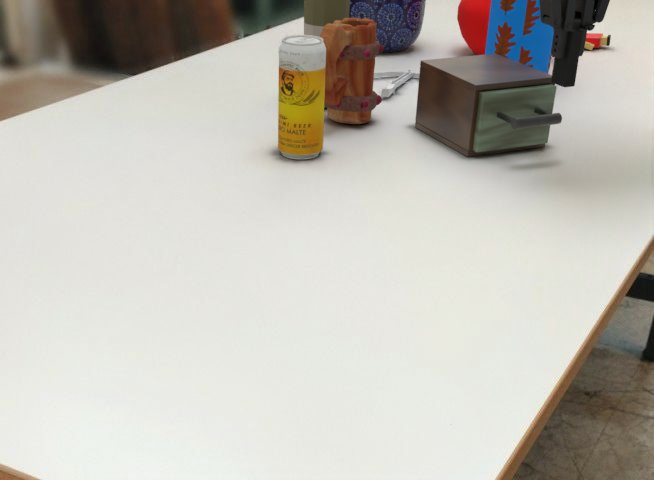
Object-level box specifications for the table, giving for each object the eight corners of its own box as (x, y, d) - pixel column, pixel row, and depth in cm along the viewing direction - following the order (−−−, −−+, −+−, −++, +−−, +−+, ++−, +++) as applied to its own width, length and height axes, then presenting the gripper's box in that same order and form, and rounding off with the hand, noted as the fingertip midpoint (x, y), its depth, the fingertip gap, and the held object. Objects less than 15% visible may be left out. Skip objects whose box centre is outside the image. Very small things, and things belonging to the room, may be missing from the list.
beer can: (269, 155, 126) (269, 40, 118) (293, 143, 131) (295, 32, 123) (307, 163, 123) (310, 46, 116) (330, 152, 128) (335, 38, 120)
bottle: (298, 109, 145) (303, -107, 129) (303, 97, 151) (308, -111, 135) (343, 111, 144) (353, -106, 129) (347, 99, 150) (357, -110, 135)
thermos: (508, 74, 165) (529, -82, 152) (559, 87, 158) (585, -76, 145) (468, 84, 159) (486, -78, 146) (518, 98, 152) (542, -72, 139)
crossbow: (374, 77, 166) (375, 65, 165) (444, 84, 162) (445, 72, 161) (347, 93, 152) (348, 80, 151) (423, 102, 148) (424, 88, 148)
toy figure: (544, 36, 184) (608, 37, 179) (550, 29, 189) (612, 31, 185) (543, 49, 185) (607, 51, 181) (549, 42, 190) (610, 44, 186)
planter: (433, 43, 186) (441, -38, 178) (403, 60, 173) (410, -26, 165) (357, 34, 192) (361, -44, 184) (322, 50, 180) (325, -33, 172)
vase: (500, 40, 189) (514, -64, 179) (572, 58, 176) (590, -52, 166) (433, 51, 180) (443, -57, 170) (503, 71, 167) (518, -45, 157)
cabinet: (545, 146, 131) (556, 76, 125) (467, 157, 126) (476, 85, 121) (487, 118, 142) (495, 53, 137) (414, 127, 138) (420, 60, 133)
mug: (340, 109, 146) (344, 7, 138) (387, 117, 142) (395, 13, 134) (293, 133, 135) (295, 24, 127) (343, 142, 131) (348, 31, 123)
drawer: (569, 154, 125) (580, 95, 121) (497, 164, 121) (505, 103, 117) (493, 117, 140) (500, 63, 135) (426, 124, 136) (431, 70, 132)
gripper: (619, -136, 108) (586, 72, 121) (525, -133, 104) (500, 82, 117) (665, -133, 102) (625, 85, 115) (566, -129, 98) (536, 97, 111)
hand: (562, 84), depth 116 cm, fingers closed
